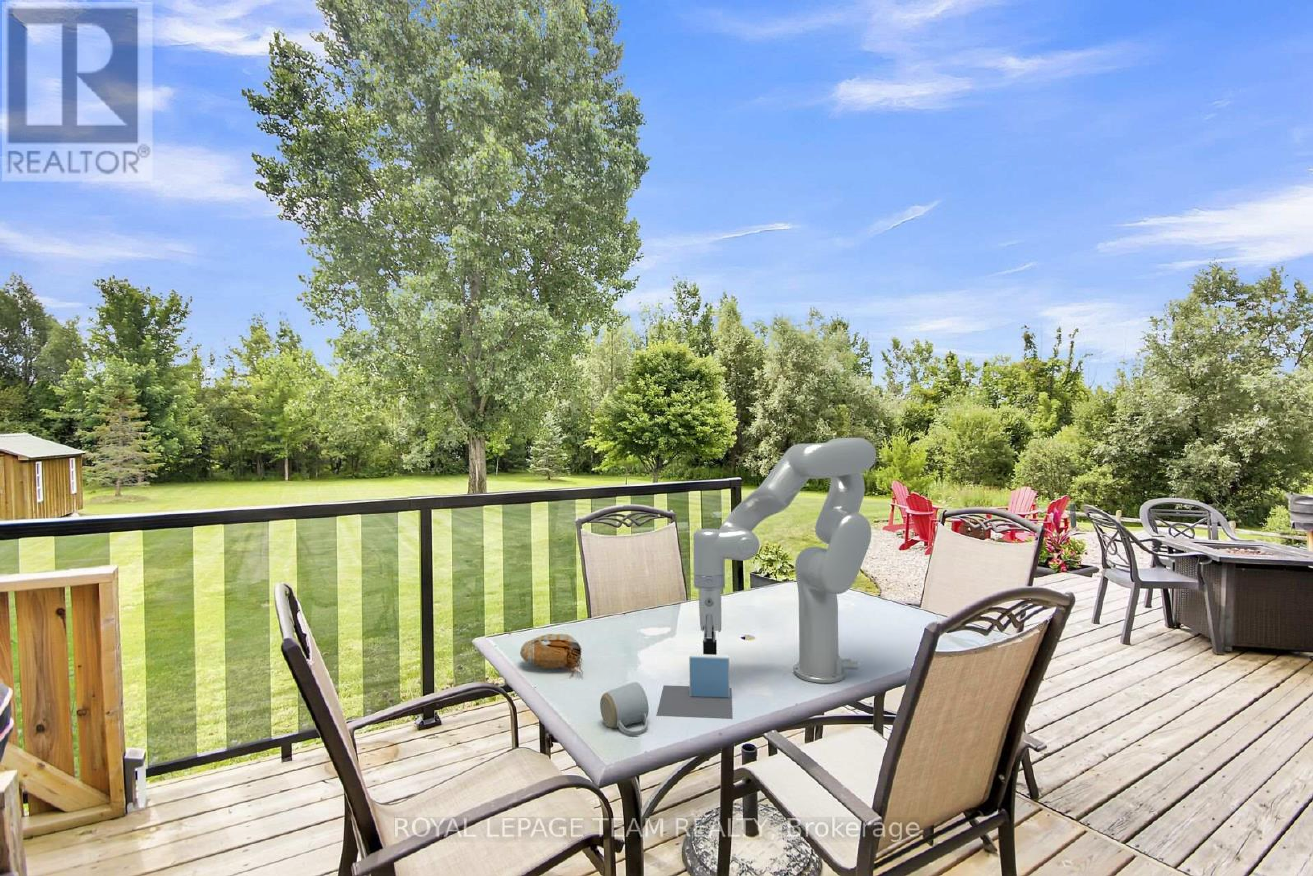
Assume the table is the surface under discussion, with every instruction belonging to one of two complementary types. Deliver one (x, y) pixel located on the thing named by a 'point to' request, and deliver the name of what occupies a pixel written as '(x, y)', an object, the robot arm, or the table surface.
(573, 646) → the nautilus
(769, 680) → the table surface
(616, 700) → the ceramic mug
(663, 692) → the mat
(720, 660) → the tile
